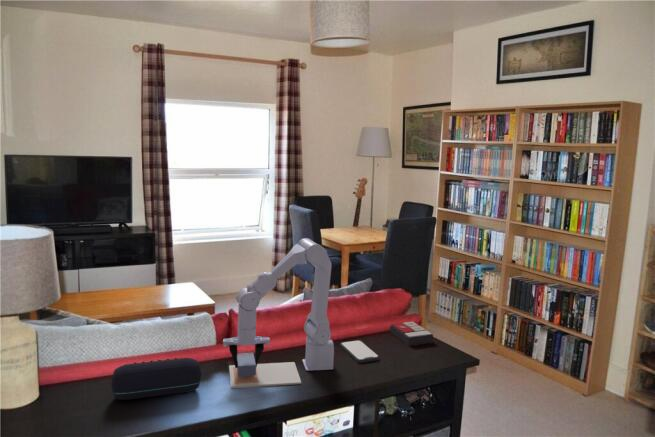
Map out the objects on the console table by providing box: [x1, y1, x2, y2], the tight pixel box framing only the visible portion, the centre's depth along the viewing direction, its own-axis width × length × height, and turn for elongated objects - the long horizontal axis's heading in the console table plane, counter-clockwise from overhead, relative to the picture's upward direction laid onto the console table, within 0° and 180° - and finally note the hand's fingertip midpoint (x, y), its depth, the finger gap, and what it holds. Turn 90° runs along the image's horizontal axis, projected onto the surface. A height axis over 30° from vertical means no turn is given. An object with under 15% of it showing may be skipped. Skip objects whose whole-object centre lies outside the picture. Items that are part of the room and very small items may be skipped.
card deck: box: [237, 352, 256, 376], centre depth 167 cm, size 9×6×3 cm, turn 14°
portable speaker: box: [110, 357, 202, 401], centre depth 154 cm, size 25×10×10 cm, turn 111°
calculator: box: [389, 321, 434, 347], centre depth 206 cm, size 11×4×15 cm
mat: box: [228, 361, 302, 389], centre depth 169 cm, size 22×14×1 cm, turn 103°
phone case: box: [340, 339, 380, 364], centre depth 190 cm, size 9×2×16 cm
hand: (245, 366), depth 167 cm, fingers closed on card deck, 5 cm apart
